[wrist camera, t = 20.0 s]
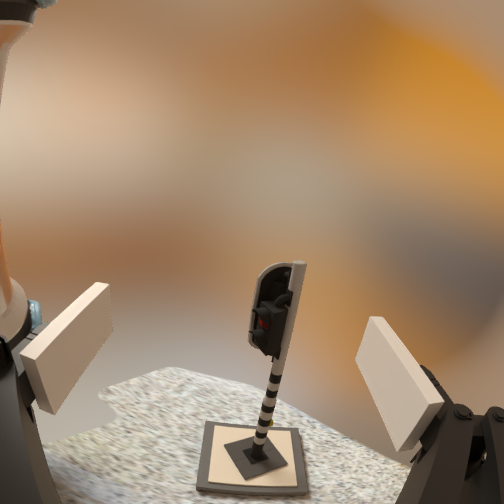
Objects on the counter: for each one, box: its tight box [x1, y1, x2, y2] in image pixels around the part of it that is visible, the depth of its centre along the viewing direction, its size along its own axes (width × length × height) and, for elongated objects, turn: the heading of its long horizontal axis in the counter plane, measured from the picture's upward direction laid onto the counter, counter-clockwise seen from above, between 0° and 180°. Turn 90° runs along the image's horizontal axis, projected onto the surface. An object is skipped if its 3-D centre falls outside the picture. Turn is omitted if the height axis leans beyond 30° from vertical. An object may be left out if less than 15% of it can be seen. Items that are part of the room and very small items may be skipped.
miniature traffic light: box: [224, 260, 307, 480], centre depth 32 cm, size 8×8×30 cm
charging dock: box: [196, 421, 308, 496], centre depth 36 cm, size 15×13×2 cm
